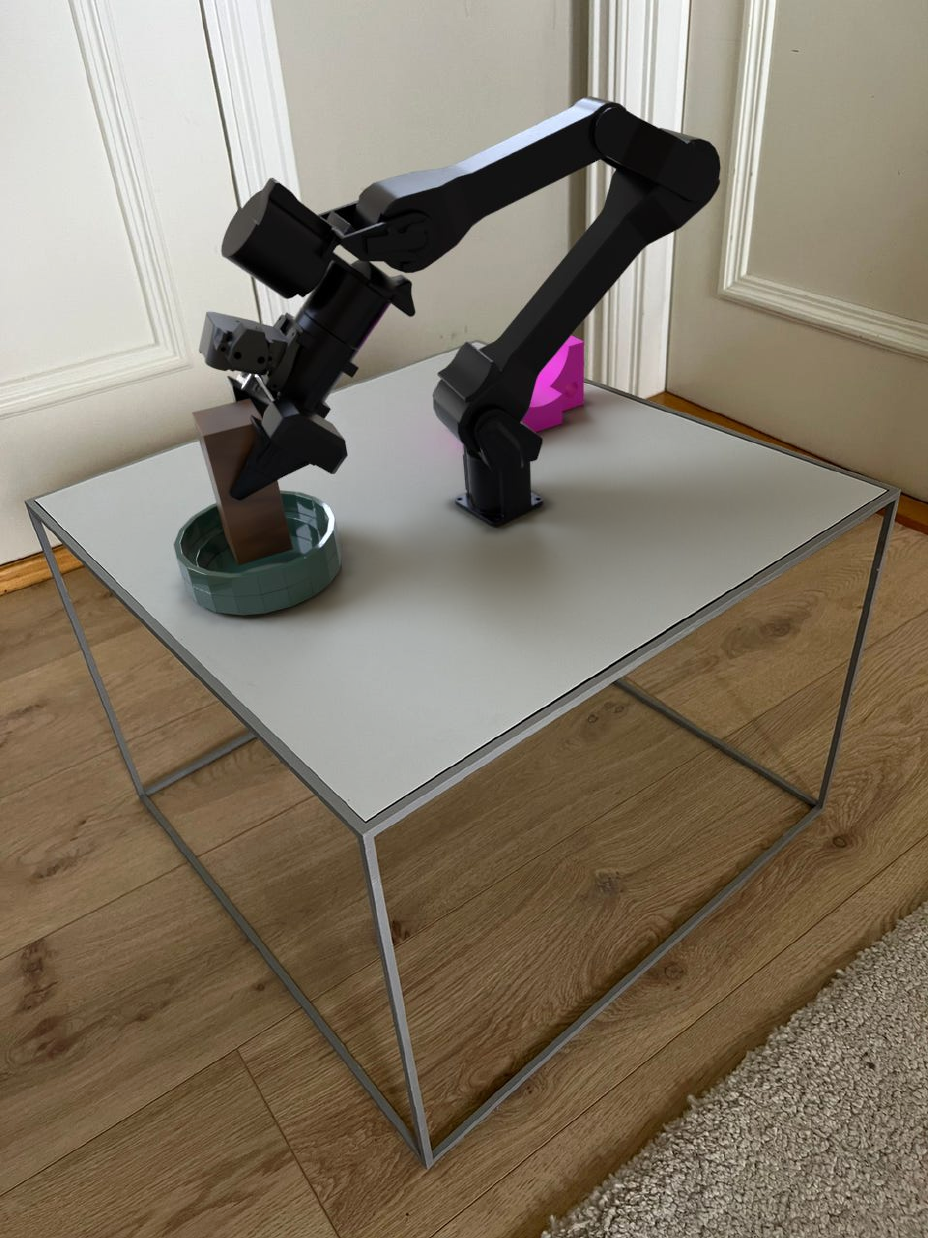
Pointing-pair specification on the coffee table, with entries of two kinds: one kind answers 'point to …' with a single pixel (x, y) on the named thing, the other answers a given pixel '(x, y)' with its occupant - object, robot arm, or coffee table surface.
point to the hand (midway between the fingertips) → (227, 483)
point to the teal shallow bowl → (267, 579)
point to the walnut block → (225, 445)
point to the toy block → (558, 387)
